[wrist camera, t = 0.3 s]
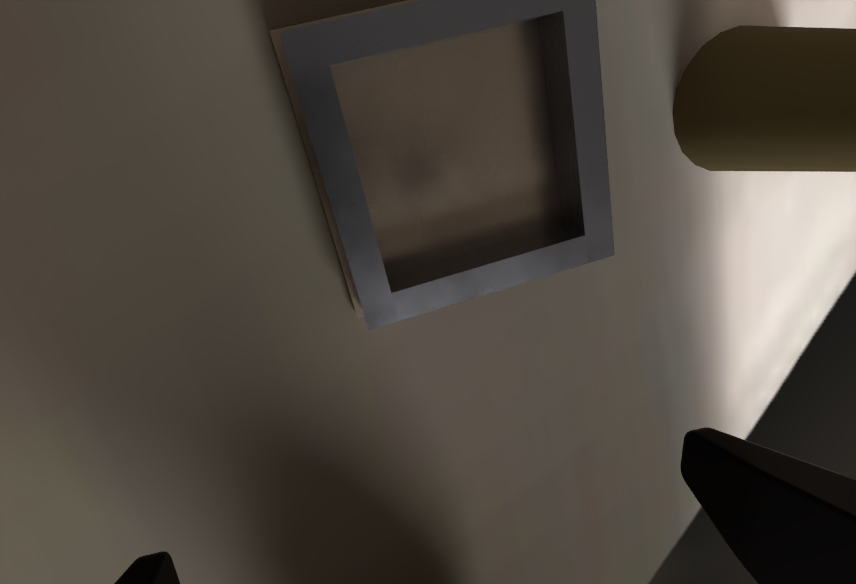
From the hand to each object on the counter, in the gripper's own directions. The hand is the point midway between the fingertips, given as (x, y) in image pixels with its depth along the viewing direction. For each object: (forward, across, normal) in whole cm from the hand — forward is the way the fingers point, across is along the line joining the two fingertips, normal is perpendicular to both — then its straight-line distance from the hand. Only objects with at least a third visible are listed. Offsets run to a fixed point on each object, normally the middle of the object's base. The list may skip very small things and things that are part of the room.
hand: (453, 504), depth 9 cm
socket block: (+14, -4, -4) cm, 15 cm away
